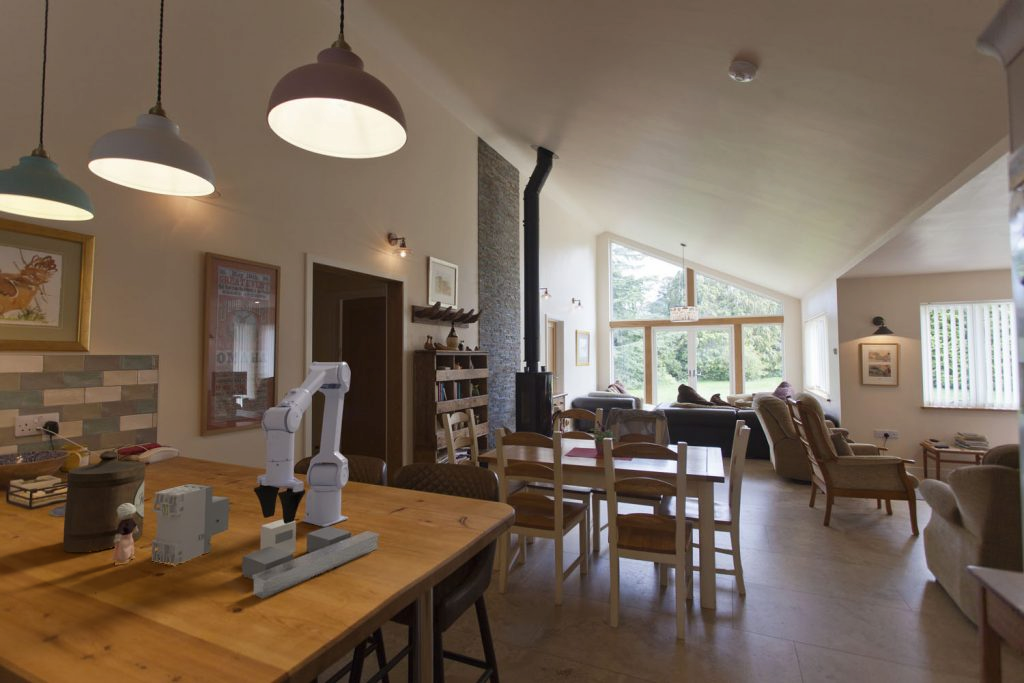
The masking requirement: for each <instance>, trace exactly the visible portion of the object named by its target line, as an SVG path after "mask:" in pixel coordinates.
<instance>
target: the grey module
mask: <svg viewBox="0 0 1024 683" xmlns="http://www.w3.org/2000/svg"><path fill="white" fill-rule="evenodd" d="M296 534H297V521H296V520H294V521H293V522H290V523H287V524H285V523H284V521H283V518H282V519H279V520H275V521H272V522H268V523H266V524H263V525H260V549H259V550H261V549H264V548H267V547H270V546H271V547H274V548H277V549H280V550H283V551H286V552H289V553H292V554H294V553H295V552H296V546H297V545H296V538H297V536H296ZM293 552H294V553H293Z"/></svg>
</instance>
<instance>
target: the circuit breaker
mask: <svg viewBox="0 0 1024 683" xmlns="http://www.w3.org/2000/svg"><path fill="white" fill-rule="evenodd" d="M213 488H214V487H213V486H210V485H208V486H207V485H201V484H192V483H191V484H190V483H188V484H184V485H180V486H175V487H171V488H167V489H164V490H160V491H155V492H154V495H155V498H154V499H153V501H152V502H153V503H152V512H153V513H156V533H155V534H156V536H155V537H156V538H154V539H153V538H152V540H151V551H150V555H152V559H151V560H150V562H151V561H156V562H163V563H165V562H166V563H168V562H170V563H169V564H171V563H174V565H176V564H177V563H179V562H184V561H186V560H189V559H192V558H194V557H196V556H199V555H202V554H204V553H206V552H209V551H211V550H212V544H211V543H210V542H211V541H212V536H215V535H217V534H220V533H223V532H225V531H226V532H227V531H228V530H229V518H230V517H229V516H230V513H229V512H230V511H231V506H230V498H229V497H224V496H216V495H214V496H213V494H214V492H213V490H214V489H213ZM158 505H159V507H157V506H158ZM156 548H157V550H156ZM159 560H160V561H159Z"/></svg>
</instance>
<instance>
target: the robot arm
mask: <svg viewBox="0 0 1024 683" xmlns="http://www.w3.org/2000/svg"><path fill="white" fill-rule="evenodd" d="M350 384H351V369H350V367H349V365H348V363H347V361H340V362H339V361H337V362H334V361H333V362H331V361H330V362H328V361H327V362H323V361H322V362H319V361H313V362H312V363H311V364H310V366H308V368H307V376H306V378H305V379H304V380H303V381H302V383H301V385H300V386H299V387H295V388H291V389H290V390H289V392H288V393H287V394H286V395H285V396H284V398H282V400H281V401H280V402H279V403H278V404H277V405H276V406H275V407H269V409H266V411H265V412H264V413H263V416H262V419H261V427H262V430H263V432H264V435H263V436H264V439H265V440H266V458H265V459H266V463H265V464H266V465H265V466H266V468H265V470H266V471H265V474H260V475H257V480H256V484H257V485H259V486H257V487H254V488H253V492H254V493H255V494H256V497H257V498H258V502H259V503H260V507H261V511H262V512H261V513H262V515H263V518H265V519H267V518H271V517H274V515H275V512H276V506H277V505H276V504H277V499H278V498H279V500H280V504H281V509H282V519H283V521H284V523H285V524H287V523H290V522H293V521H295V518H296V515H297V511H298V508H299V505H300V503H301V501H302V500H303V498H304V496H305V494H306V496H305V513H304V514H305V516H304V517H305V518H302V520H301V521H302V522H304V523H307V524H313V525H315V526H319V527H322V528H325V527H328V526H331V525H334V524H337V523H340V522H343V521H346V520H348V519H349V517H348V516H344V515H342V488H344V487H345V485H347V483H348V481H349V473H350V472H349V471H350V470H349V460H348V458H347V457H345V455H343V454H342V453H340V442H341V432H342V420H343V411H344V401H345V394H346V393H347V392H349V391H350ZM317 391H318V392H320V393H322V394H323V396H325V400H324V407H323V408H324V409H323V417H322V419H323V420H322V428H321V438H320V445H319V446H320V447H319V453H317V454H316V455H315V456H314V457H312V458H311V459H310V461H309V462H310V463H309V467H308V470H307V472H306V482H307V485H308V486H309V487H310V489H309V490H308V491H307V493H306V489H304V481H302V480H300V479H298V478H296V477H295V476H294V473H295V472H294V467H295V465H294V464H295V434H296V433H295V432H296V431H297V430H299V428H300V425H301V420H302V418H303V414H304V413H305V411H306V410H307V409H308V408H309V407H310V405H311V404H312V396H314V394H315V393H317ZM326 463H329V464H326ZM331 463H332V464H331ZM280 489H285V491H281V492H280ZM277 497H278V498H277Z"/></svg>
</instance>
